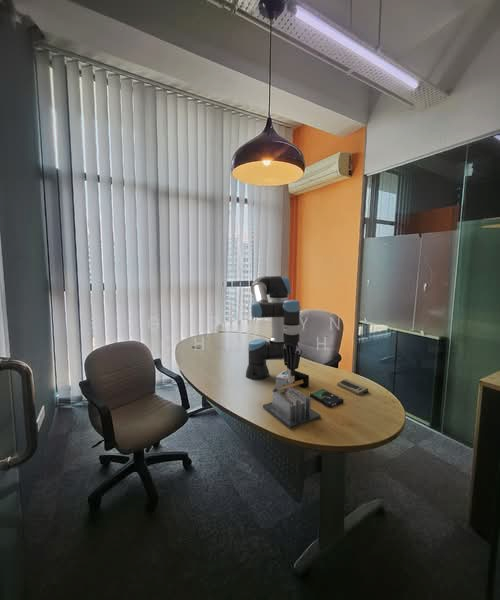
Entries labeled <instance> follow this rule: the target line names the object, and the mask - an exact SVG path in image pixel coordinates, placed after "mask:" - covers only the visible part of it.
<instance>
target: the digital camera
mask: <svg viewBox="0 0 500 600" xmlns="http://www.w3.org/2000/svg"><path fill="white" fill-rule="evenodd" d="M309 378H310V375H308V374H306V373H303V372H301V371H297V370H295V376H294V382H293V384H294V383H295V381H299V380H303V382H304V383H302V384H299V385H296V386H298V387H299V388H303V389H307V388H308V387H309V386H310V385H309V384H310V383H309V381H310V379H309Z"/></svg>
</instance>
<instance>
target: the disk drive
mask: <svg viewBox="0 0 500 600" xmlns="http://www.w3.org/2000/svg"><path fill="white" fill-rule="evenodd" d="M309 398H310V399H313V400H315V401H316V402H318V403H320V404H322V405H323V406H325V407H327V408H329V409H332V408H334V407H338V406H340V405H343V404H344V398H343V397H340V396H338V395H336V394H333V393H332V392H330V391H328V390H327V389H324V388H322V389H319V390H315V391H313V392H310V394H309Z"/></svg>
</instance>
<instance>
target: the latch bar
mask: <svg viewBox="0 0 500 600" xmlns="http://www.w3.org/2000/svg"><path fill="white" fill-rule="evenodd" d="M302 383H304V382H303V380H299V381H295V383H294V384H291V385H287V386H284V387H281V388H277V391H280V390H283V389H286V388H289V387H292V386H293V387H295V386H297V385H299V384H302Z"/></svg>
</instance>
